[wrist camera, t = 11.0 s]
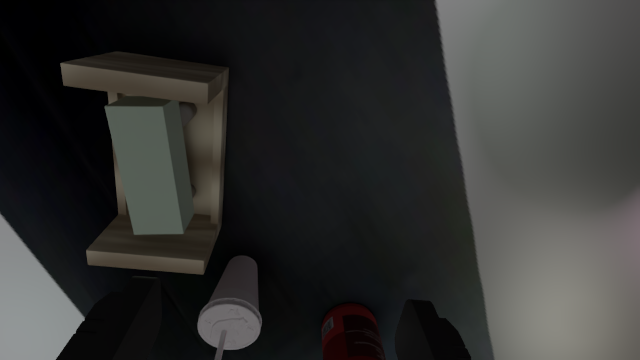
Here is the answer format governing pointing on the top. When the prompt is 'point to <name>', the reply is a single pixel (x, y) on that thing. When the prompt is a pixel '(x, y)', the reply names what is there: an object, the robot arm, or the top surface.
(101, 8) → the top surface
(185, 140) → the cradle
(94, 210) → the top surface
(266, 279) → the top surface
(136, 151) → the grey-green rectangular block
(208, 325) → the smoothie
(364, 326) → the canned food
